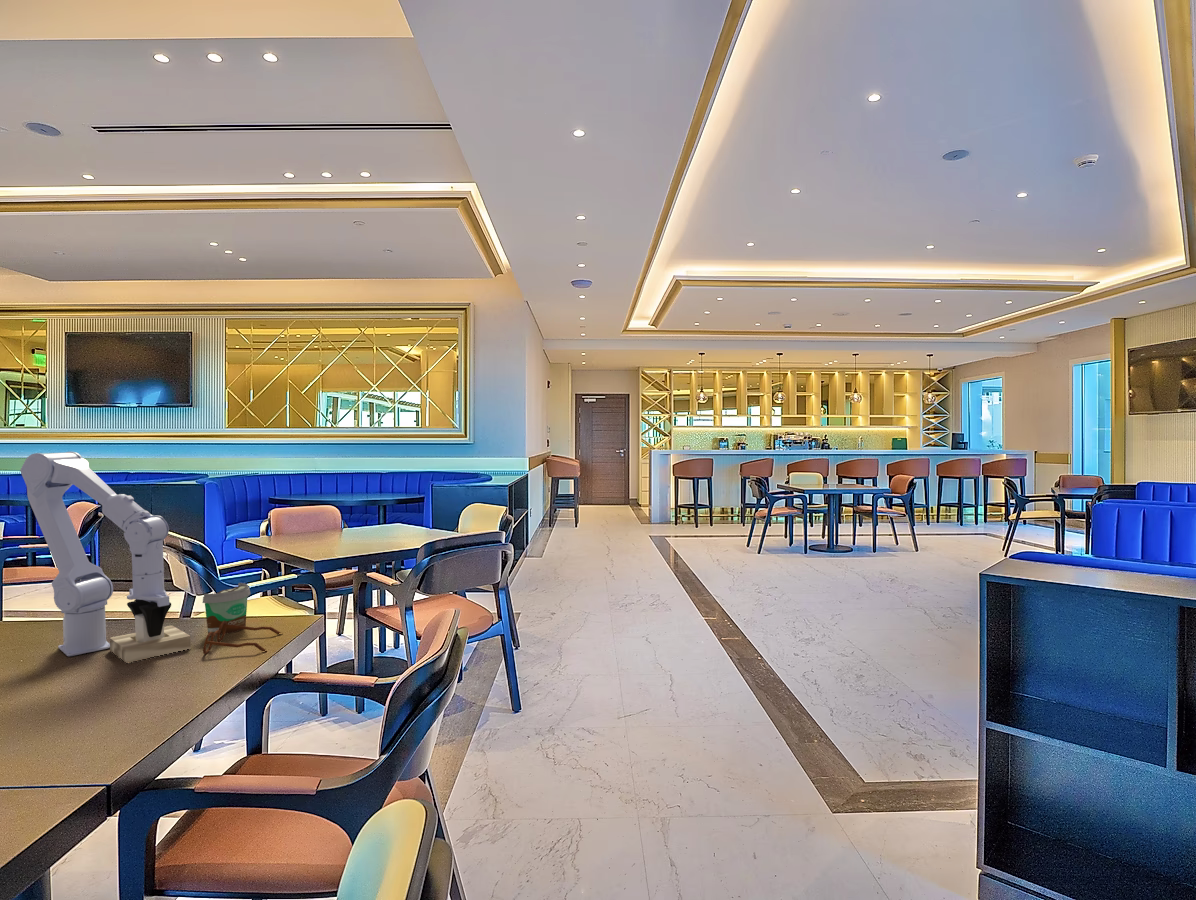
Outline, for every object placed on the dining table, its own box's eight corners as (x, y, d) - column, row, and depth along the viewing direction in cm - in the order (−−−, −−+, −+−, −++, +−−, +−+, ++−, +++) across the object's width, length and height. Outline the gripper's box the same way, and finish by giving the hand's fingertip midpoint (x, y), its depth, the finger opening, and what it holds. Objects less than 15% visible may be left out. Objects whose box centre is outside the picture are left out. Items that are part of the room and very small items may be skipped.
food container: (226, 638, 157) (225, 595, 156) (203, 636, 158) (202, 594, 158) (262, 623, 169) (261, 583, 169) (241, 621, 170) (240, 582, 170)
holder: (110, 651, 148) (109, 637, 148) (172, 638, 157) (171, 625, 157) (126, 663, 140) (125, 649, 140) (190, 649, 149) (190, 635, 149)
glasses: (222, 639, 157) (222, 618, 157) (283, 636, 160) (282, 615, 160) (201, 658, 144) (200, 635, 144) (267, 654, 147) (267, 631, 147)
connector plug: (135, 642, 148) (134, 615, 148) (155, 637, 151) (155, 611, 151) (144, 645, 146) (143, 618, 146) (164, 640, 149) (163, 613, 149)
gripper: (113, 571, 149) (114, 633, 149) (142, 580, 141) (144, 644, 141) (148, 566, 155) (150, 625, 155) (179, 573, 146) (180, 635, 147)
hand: (150, 634), depth 148 cm, fingers closed on connector plug, 4 cm apart
